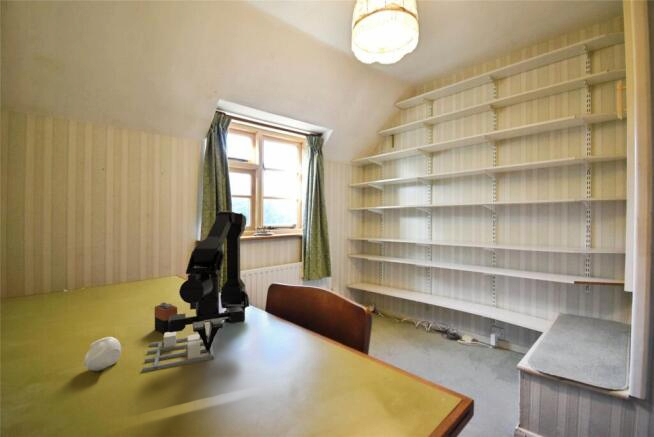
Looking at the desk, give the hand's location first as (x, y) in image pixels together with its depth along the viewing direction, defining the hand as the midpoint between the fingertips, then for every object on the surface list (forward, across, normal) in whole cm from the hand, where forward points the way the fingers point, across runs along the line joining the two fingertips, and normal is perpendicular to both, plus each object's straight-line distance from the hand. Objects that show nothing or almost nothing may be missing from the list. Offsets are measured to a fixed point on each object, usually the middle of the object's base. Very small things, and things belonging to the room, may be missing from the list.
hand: (207, 350), depth 80 cm
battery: (+3, +11, -24) cm, 27 cm away
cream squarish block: (+1, +9, -10) cm, 14 cm away
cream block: (+1, +3, 0) cm, 4 cm away
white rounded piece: (+3, +24, -6) cm, 25 cm away
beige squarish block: (+1, +3, -5) cm, 6 cm away
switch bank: (+3, +7, -5) cm, 9 cm away
